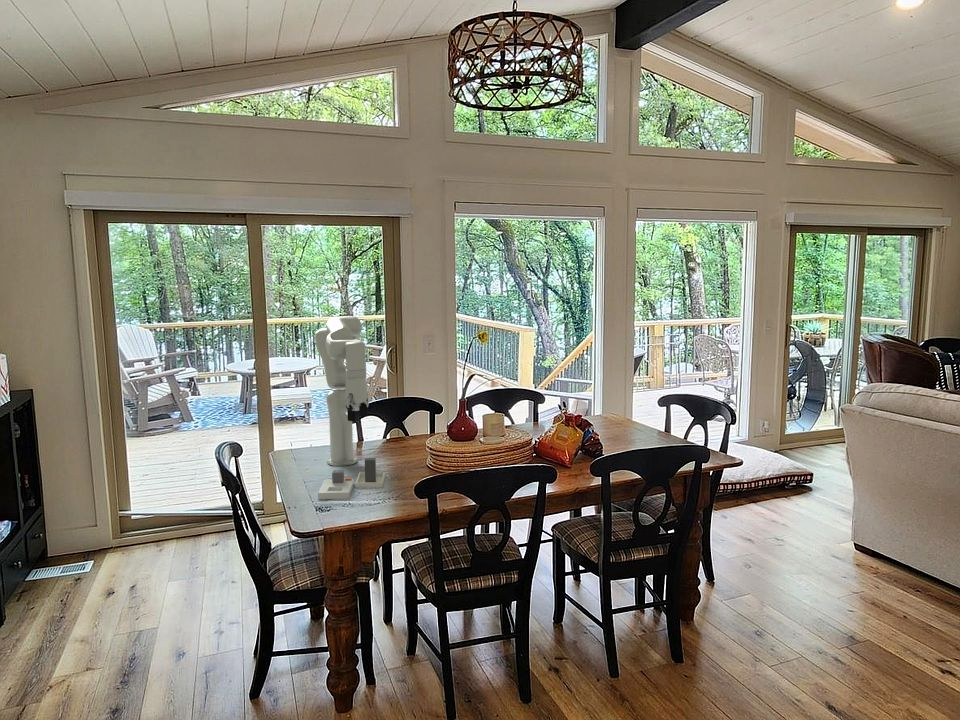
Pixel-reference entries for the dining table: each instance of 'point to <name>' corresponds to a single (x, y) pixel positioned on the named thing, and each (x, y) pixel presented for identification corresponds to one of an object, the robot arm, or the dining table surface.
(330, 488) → the socket strip
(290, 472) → the dining table surface
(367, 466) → the plug
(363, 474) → the tray
